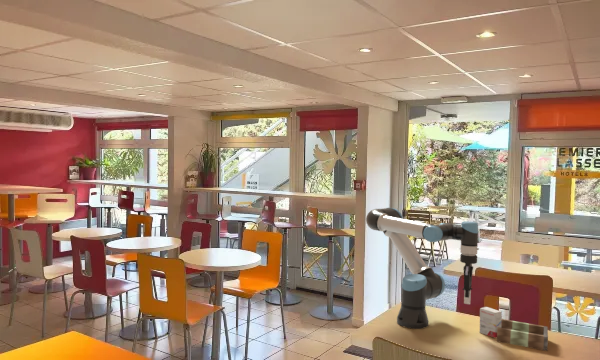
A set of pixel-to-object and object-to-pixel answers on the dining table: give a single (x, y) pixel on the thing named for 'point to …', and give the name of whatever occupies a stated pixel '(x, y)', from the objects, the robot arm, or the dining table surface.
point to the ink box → (490, 321)
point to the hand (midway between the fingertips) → (467, 303)
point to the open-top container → (523, 334)
